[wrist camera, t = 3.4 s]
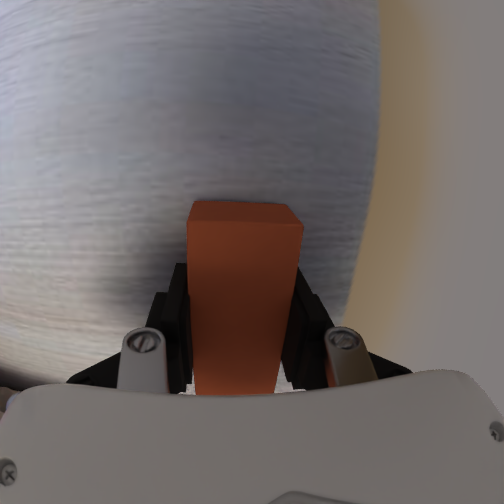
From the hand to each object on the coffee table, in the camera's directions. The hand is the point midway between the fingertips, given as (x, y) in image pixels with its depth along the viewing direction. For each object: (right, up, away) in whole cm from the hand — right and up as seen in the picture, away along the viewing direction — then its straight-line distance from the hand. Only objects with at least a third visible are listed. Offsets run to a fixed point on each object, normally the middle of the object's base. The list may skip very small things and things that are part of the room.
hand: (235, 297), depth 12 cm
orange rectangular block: (0, 0, 0) cm, 0 cm away
